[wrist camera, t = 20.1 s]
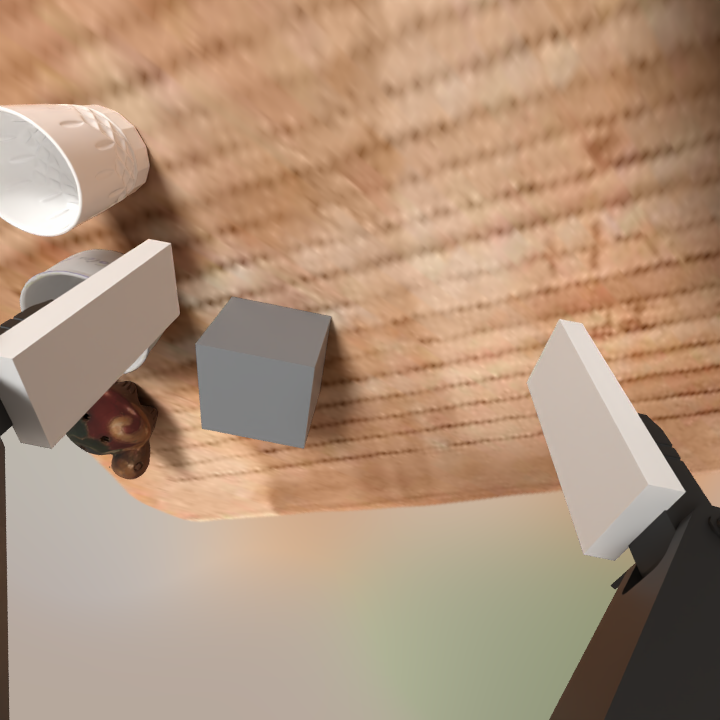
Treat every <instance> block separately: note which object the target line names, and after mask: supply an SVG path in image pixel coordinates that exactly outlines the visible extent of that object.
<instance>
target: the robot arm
mask: <svg viewBox="0 0 720 720" xmlns="http://www.w3.org/2000/svg"><path fill="white" fill-rule="evenodd" d="M179 315H180V310H179V302H178V294H177V286H176V278H175V270H174V262H173V254H172V246H171V243H167V242H162V241H157V240H152V239H148V240H146V241H145V242H143V243H141V244H140V245H138V246H137V247H135V248H134V249H132V250H131V251H129V252H128V253H126V254H125V255H123V256H121V257H120V258H118V259H117V260H115V261H114V262H112V263H111V264H109V265H108V266H106V267H105V268H103V269H101V270H100V271H98V272H97V273H95V274H94V275H92V276H91V277H89V278H88V279H86V280H85V281H83V282H81V283H80V284H78V285H77V286H75V287H74V288H72V289H71V290H69V291H68V292H66V293H65V294H63V295H62V296H60V297H58V298H57V299H55V300H53V299H50V300H48V301H45V302H42V303H39V304H36V305H33V306H30V307H29V308H27V309H25V310H24V311H22V312H21V313H19V314H17V315H16V316H14V319H9V320H8V321H6V322H5V323H3V324H1V325H0V436H1V435H2V434H3V433H4V432H6V431H7V430H8V429H9V428H10V427H11V426H13V428H14V430H15V432H16V434H17V436H18V438H19V440H20V442H21V443H25V444H30V445H35V446H40V447H45V448H50V449H52V448H53V447H54V445H56V443H57V442H58V441H59V440H60V439H61V438H62V437H63V436H64V435H65V434H66V433H67V432H68V431H69V430H70V429H71V428H72V427H73V426H74V425H75V424H76V423H77V422H78V421H79V420H80V418H81V417H82V416H83V415H84V414H85V413H86V412H87V411H88V410H89V409H90V408H91V407H92V406H93V405H94V404H95V403H96V402H97V401H98V400H99V399H100V398H101V396H102V395H103V394H104V393H105V392H106V391H107V390H108V389H109V388H110V387H111V386H112V385H113V384H114V383H115V382H116V381H117V380H118V379H119V378H120V377H121V376H122V374H123V373H124V372H125V371H126V370H127V369H128V368H129V367H130V366H131V365H132V364H133V363H134V362H135V361H136V360H137V359H138V358H139V357H140V356H141V355H142V354H143V352H144V351H145V350H146V349H147V348H148V347H149V346H150V345H151V344H152V343H153V342H154V341H155V340H156V339H157V338H158V337H159V336H160V335H161V334H162V333H163V332H164V330H165V329H166V328H167V327H168V326H169V325H170V324H171V323H172V322H173V321H174V320H175V319H176V318H177V317H178V316H179ZM527 385H528V388H529V391H530V394H531V397H532V400H533V403H534V406H535V409H536V412H537V415H538V418H539V421H540V424H541V427H542V430H543V433H544V436H545V439H546V442H547V445H548V448H549V451H550V454H551V457H552V460H553V463H554V466H555V470H556V473H557V476H558V479H559V482H560V485H561V488H562V491H563V493H564V497H565V500H566V503H567V506H568V509H569V512H570V515H571V518H572V521H573V524H574V527H575V530H576V533H577V536H578V539H579V542H580V545H581V548H582V551H583V554H584V555H589V556H594V557H599V558H604V559H609V560H614V561H615V560H616V559H617V558H618V557H619V556H620V555H621V554H622V553H623V552H624V551H625V550H626V549H627V548H628V547H629V548H630V551H631V553H632V555H633V558H634V560H635V562H636V563H635V564H634V565H633V566H632V567H630V569H628V570H627V571H626V572H625V573H624V574H623V575H622V576H621V577H619V579H617V580H616V581H615V582H614V583H613V584H612V585H611V586H612V587H613V588H614V589H616V588H618V589H617V591H616V593H615V595H614V597H613V599H612V601H611V603H610V604H609V606H608V608H607V610H606V612H605V614H604V616H603V618H602V620H601V622H600V624H599V626H598V627H597V630H596V631H595V633H594V635H593V637H592V639H591V641H590V643H589V645H588V647H587V649H586V650H585V652H584V654H583V656H582V658H581V660H580V662H579V664H578V666H577V668H576V670H575V671H574V673H573V675H572V677H571V679H570V681H569V683H568V685H567V687H566V689H565V691H564V692H563V694H562V696H561V698H560V700H559V702H558V704H557V706H556V708H555V710H554V712H553V714H552V715H551V718H550V719H549V720H720V508H719V507H715V506H712V505H711V503H710V502H709V501H708V499H707V497H706V496H705V494H704V493H703V492H702V490H701V488H700V487H699V485H698V484H697V482H696V481H695V479H694V478H693V476H692V474H691V473H690V471H689V470H688V468H687V467H686V465H685V464H684V462H683V461H680V456H679V455H678V453H677V452H676V450H675V449H674V448H672V444H671V442H670V441H669V439H668V438H667V436H666V435H665V433H664V432H663V430H662V429H661V428H660V427H659V426H658V425H656V424H655V423H654V422H653V421H652V420H651V419H650V418H649V417H648V416H647V415H644V414H639V413H637V412H636V410H635V409H634V407H633V405H632V404H631V402H630V400H629V399H628V397H627V396H626V394H625V392H624V391H623V389H622V387H621V386H620V384H619V383H618V381H617V379H616V378H615V376H614V374H613V373H612V371H611V370H610V368H609V366H608V365H607V363H606V361H605V360H604V358H603V357H602V355H601V353H600V352H599V350H598V348H597V347H596V345H595V344H594V342H593V340H592V339H591V337H590V335H589V334H588V332H587V331H586V329H585V327H584V326H583V324H582V323H577V322H571V321H566V320H561V319H559V321H558V323H557V325H556V327H555V329H554V331H553V333H552V334H551V336H550V338H549V340H548V342H547V344H546V346H545V348H544V350H543V352H542V354H541V356H540V358H539V360H538V362H537V363H536V365H535V367H534V369H533V371H532V373H531V375H530V377H529V379H528V381H527ZM6 556H7V552H6V494H5V447H4V444H3V442H2V440H1V438H0V720H9V678H8V677H9V676H8V675H9V673H8V617H7V615H8V612H7V557H6Z"/></svg>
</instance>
